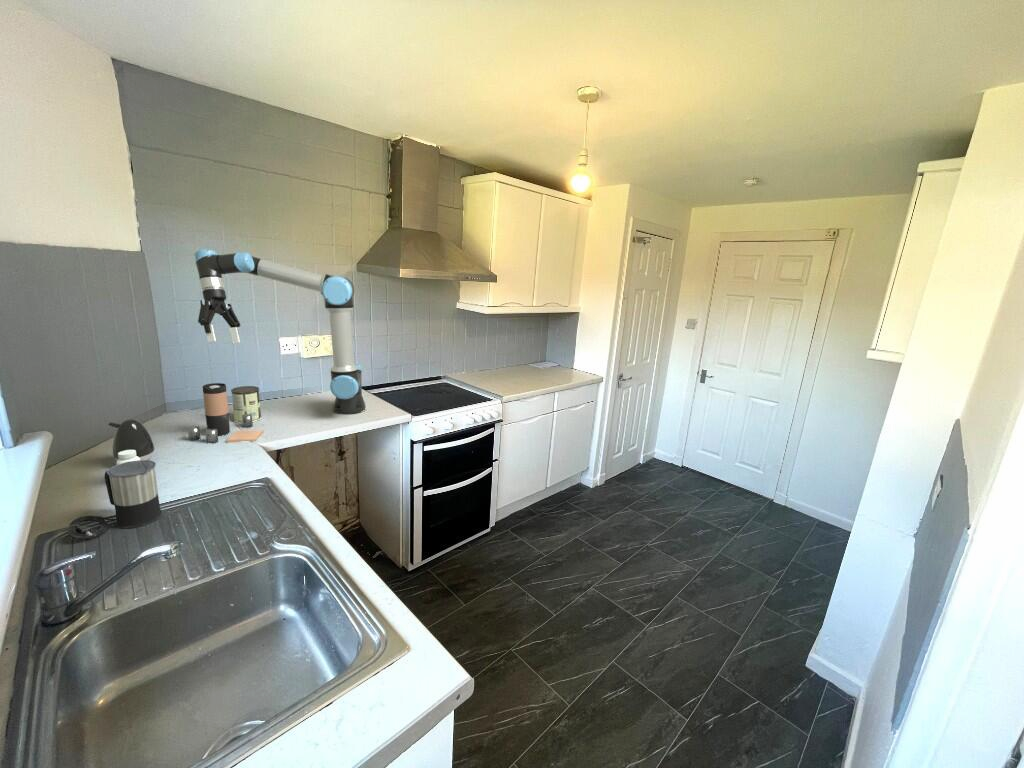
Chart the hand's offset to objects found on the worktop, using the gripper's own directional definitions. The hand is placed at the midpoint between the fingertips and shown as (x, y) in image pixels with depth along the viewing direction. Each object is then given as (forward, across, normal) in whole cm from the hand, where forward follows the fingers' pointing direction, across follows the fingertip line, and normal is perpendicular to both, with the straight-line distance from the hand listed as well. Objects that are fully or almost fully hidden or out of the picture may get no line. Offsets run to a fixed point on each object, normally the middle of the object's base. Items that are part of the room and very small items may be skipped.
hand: (224, 342), depth 166 cm
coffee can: (+33, -14, -8) cm, 37 cm away
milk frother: (+52, +64, +9) cm, 83 cm away
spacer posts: (+36, +3, -7) cm, 37 cm away
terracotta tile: (+39, +4, +4) cm, 39 cm away
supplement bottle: (+44, +43, -7) cm, 62 cm away
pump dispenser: (+39, +32, -16) cm, 53 cm away
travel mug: (+36, +3, -8) cm, 37 cm away
